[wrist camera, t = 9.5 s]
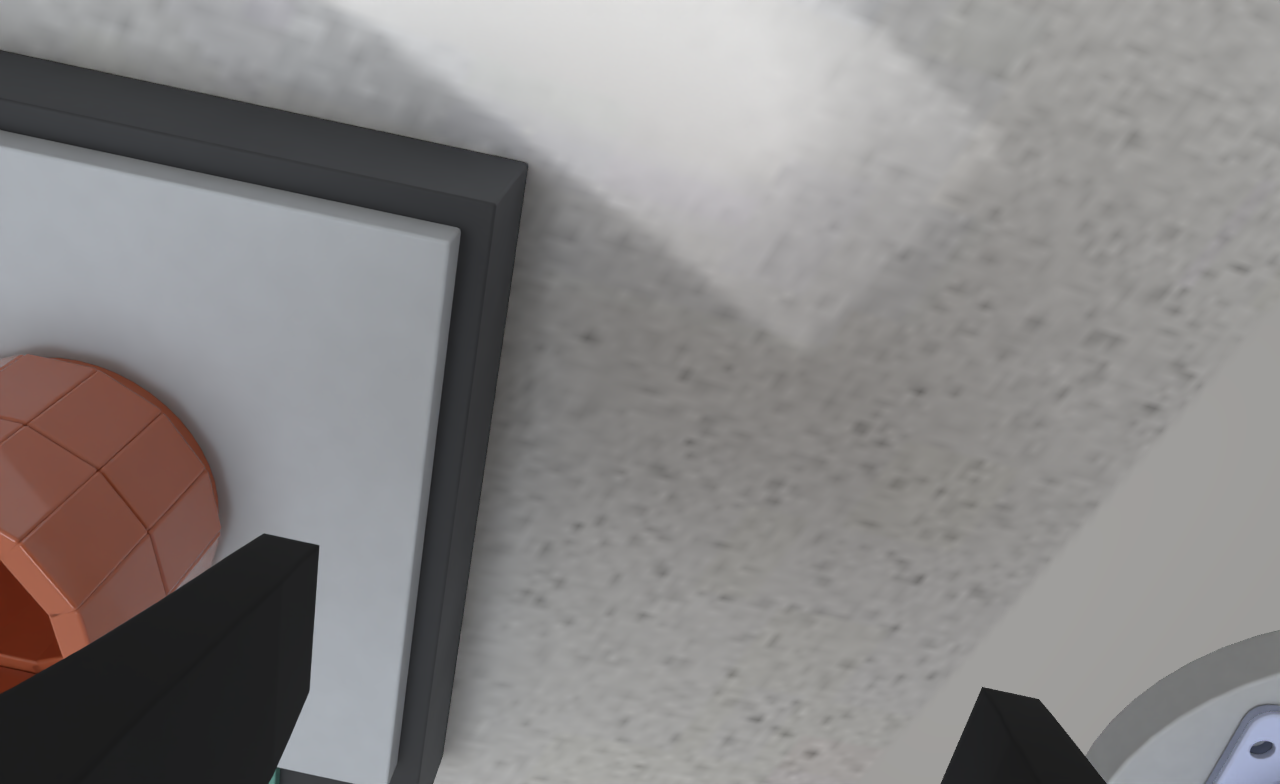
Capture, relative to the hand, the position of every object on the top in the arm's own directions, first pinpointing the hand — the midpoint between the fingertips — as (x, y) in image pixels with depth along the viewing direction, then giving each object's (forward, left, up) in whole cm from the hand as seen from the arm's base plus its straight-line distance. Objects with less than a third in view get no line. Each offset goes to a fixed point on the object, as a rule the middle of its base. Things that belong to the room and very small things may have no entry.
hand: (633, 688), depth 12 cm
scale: (-4, +10, -10) cm, 15 cm away
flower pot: (-4, +10, -7) cm, 13 cm away
